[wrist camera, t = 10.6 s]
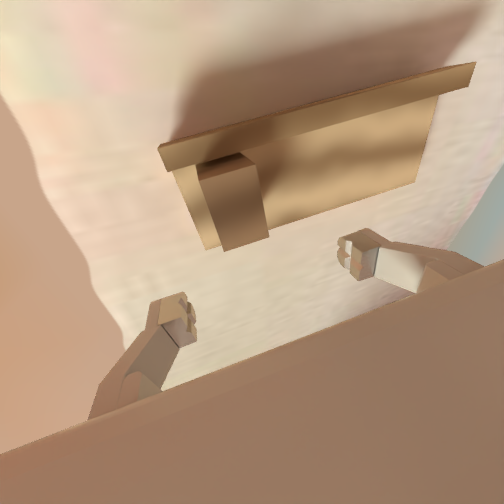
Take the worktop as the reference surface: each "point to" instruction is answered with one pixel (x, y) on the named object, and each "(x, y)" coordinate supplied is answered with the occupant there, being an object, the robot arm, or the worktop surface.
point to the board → (321, 149)
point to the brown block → (234, 199)
